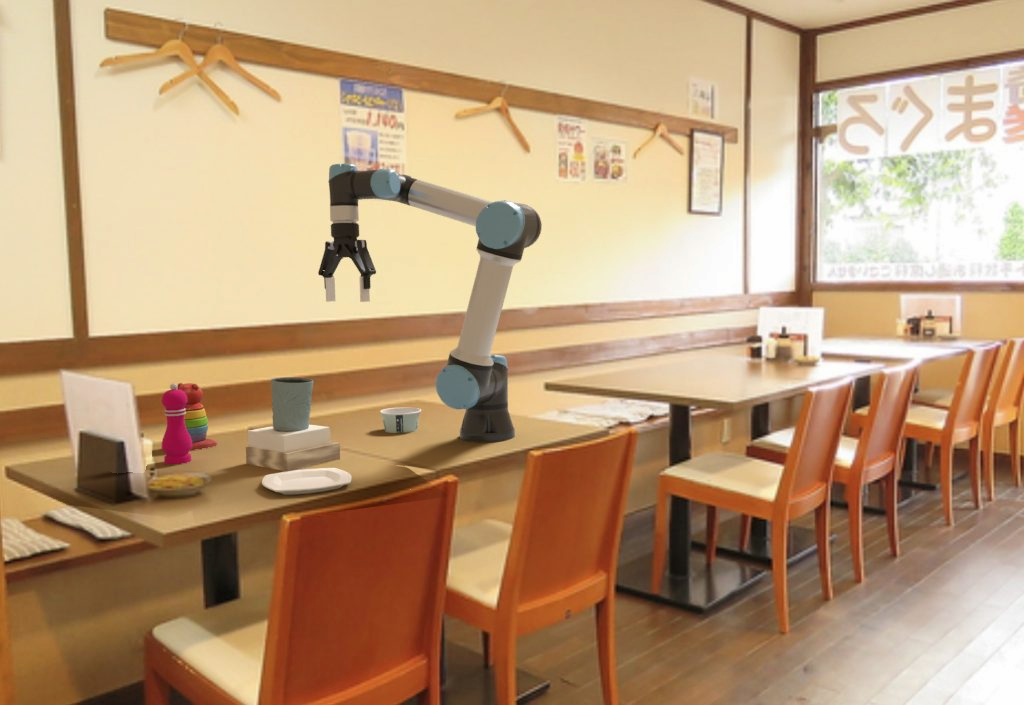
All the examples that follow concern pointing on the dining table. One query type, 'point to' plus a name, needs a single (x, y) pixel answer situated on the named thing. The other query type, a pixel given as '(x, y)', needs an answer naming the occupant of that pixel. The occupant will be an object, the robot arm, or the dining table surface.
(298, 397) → the blue-grey cup
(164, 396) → the pepper mill
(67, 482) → the dining table surface
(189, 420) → the stacking bear
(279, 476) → the plate
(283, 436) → the tower top
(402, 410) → the food container
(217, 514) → the dining table surface
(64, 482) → the dining table surface
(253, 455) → the tower base
